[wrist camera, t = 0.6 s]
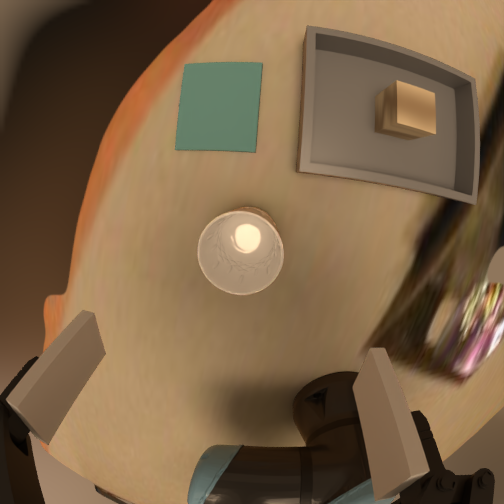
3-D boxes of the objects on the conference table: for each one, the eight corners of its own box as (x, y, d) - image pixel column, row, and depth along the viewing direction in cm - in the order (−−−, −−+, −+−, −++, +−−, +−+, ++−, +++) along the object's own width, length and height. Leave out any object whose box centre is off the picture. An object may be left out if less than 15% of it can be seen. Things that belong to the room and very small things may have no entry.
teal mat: (255, 152, 32) (255, 152, 31) (176, 150, 32) (175, 149, 32) (262, 64, 29) (262, 62, 28) (186, 65, 29) (184, 64, 29)
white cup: (227, 193, 33) (209, 200, 24) (289, 212, 33) (295, 226, 24) (211, 252, 36) (189, 280, 26) (270, 271, 36) (267, 305, 26)
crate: (455, 200, 31) (476, 204, 26) (295, 172, 32) (299, 171, 27) (456, 86, 26) (475, 78, 21) (303, 43, 27) (306, 25, 22)
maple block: (408, 140, 29) (435, 134, 22) (374, 132, 29) (397, 122, 22) (408, 105, 28) (434, 93, 21) (375, 96, 28) (396, 80, 21)
